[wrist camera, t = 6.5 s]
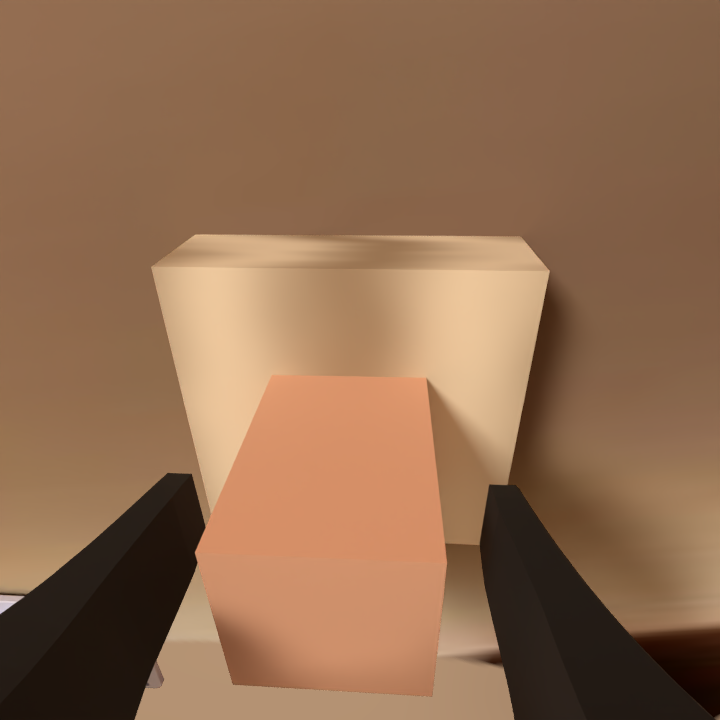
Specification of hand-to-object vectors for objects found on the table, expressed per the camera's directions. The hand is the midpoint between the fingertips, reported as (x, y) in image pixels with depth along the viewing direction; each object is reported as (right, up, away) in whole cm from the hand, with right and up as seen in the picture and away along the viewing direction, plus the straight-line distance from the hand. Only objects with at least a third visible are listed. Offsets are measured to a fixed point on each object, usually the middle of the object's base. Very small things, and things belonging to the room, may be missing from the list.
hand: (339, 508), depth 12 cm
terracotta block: (0, +1, +3) cm, 3 cm away
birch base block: (0, +3, +6) cm, 7 cm away
